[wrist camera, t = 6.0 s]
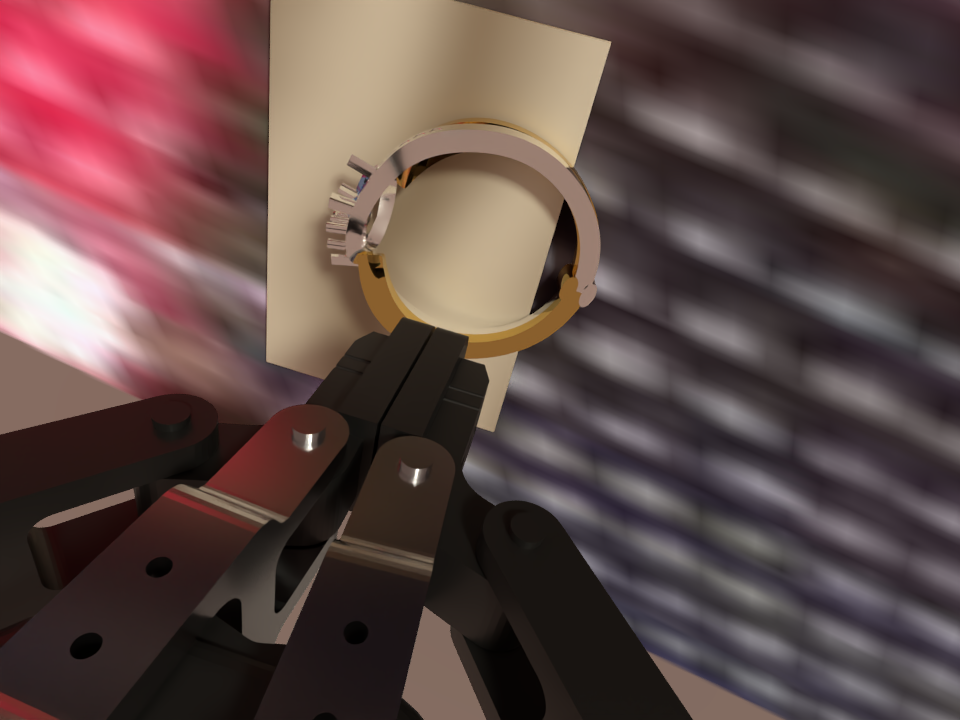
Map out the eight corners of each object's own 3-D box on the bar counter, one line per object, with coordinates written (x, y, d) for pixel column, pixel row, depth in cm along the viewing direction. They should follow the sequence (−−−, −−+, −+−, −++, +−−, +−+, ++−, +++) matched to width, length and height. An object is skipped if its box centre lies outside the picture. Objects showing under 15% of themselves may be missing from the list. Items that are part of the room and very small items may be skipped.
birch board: (611, 41, 15) (611, 43, 14) (495, 425, 22) (493, 431, 22) (278, -47, 15) (271, -47, 15) (271, 356, 23) (266, 361, 22)
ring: (548, 405, 19) (295, 329, 17) (541, 346, 21) (321, 275, 20) (665, 209, 15) (350, 86, 13) (639, 166, 17) (374, 59, 16)
